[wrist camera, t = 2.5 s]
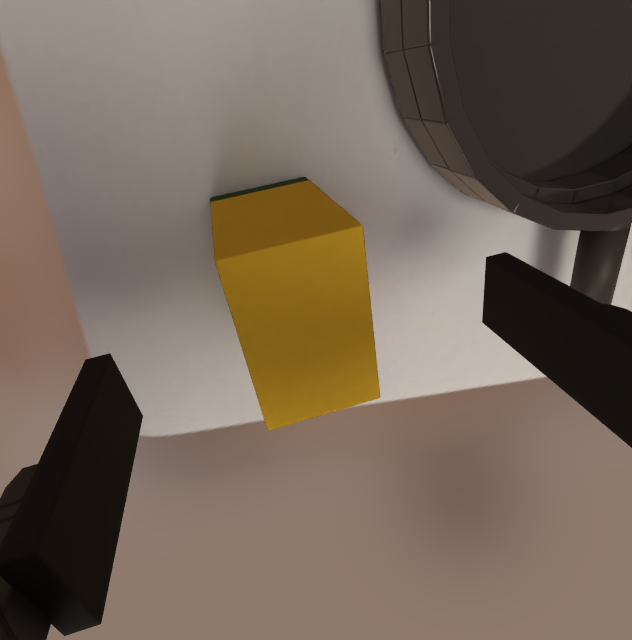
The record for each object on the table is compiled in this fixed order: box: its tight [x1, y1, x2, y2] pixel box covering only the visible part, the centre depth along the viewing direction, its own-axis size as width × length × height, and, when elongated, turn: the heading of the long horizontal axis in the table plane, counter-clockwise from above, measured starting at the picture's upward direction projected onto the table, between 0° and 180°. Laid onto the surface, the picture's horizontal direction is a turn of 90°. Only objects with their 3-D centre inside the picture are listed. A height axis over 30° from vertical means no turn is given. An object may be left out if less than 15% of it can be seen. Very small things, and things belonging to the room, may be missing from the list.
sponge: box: [210, 177, 380, 431], centre depth 17 cm, size 7×4×8 cm, turn 9°
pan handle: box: [570, 223, 631, 305], centre depth 22 cm, size 8×2×2 cm, turn 9°
